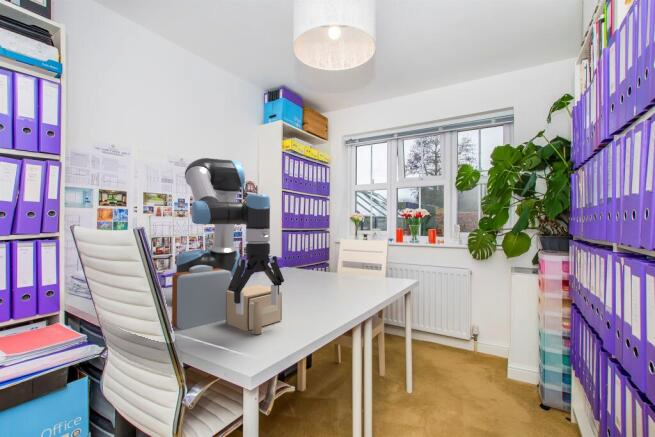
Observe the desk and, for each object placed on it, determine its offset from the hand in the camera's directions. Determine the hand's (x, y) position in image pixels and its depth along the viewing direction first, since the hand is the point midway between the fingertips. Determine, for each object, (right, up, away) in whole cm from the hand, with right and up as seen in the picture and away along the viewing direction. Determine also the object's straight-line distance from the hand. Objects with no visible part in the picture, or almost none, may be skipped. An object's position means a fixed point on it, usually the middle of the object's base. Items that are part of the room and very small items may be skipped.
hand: (258, 309), depth 100 cm
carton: (-5, -9, +12) cm, 16 cm away
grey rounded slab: (-23, -9, +13) cm, 28 cm away
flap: (+3, -8, +6) cm, 10 cm away
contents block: (-5, -8, +11) cm, 15 cm away
